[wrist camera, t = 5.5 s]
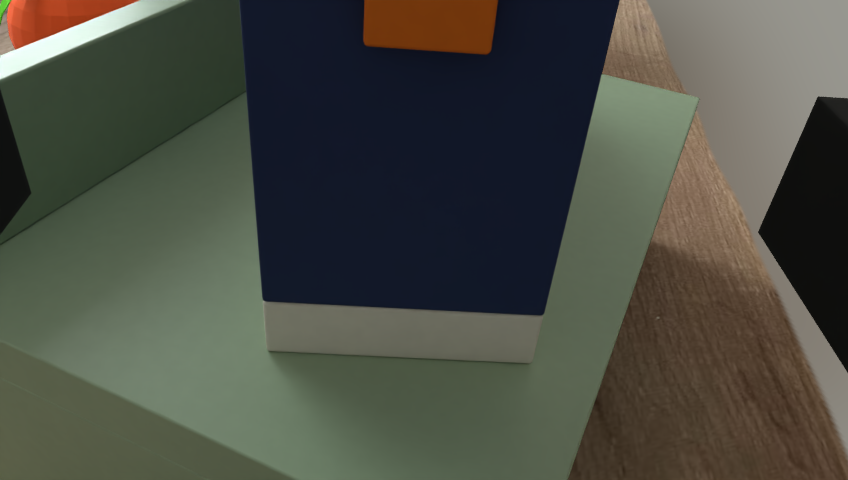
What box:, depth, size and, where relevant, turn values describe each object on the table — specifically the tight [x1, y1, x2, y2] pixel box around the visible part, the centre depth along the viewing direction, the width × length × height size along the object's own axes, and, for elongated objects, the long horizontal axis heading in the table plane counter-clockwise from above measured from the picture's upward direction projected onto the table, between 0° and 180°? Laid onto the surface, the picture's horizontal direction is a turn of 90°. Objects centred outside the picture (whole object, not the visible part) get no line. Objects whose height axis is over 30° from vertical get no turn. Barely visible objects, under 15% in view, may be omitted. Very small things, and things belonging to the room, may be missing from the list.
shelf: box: [0, 0, 700, 480], centre depth 24 cm, size 16×22×11 cm
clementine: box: [0, 0, 140, 50], centre depth 38 cm, size 8×7×7 cm
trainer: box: [239, 0, 619, 364], centre depth 19 cm, size 16×6×10 cm, turn 0°
